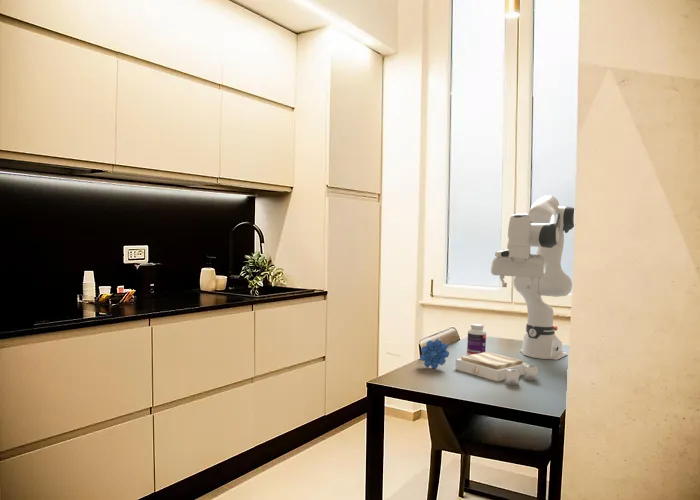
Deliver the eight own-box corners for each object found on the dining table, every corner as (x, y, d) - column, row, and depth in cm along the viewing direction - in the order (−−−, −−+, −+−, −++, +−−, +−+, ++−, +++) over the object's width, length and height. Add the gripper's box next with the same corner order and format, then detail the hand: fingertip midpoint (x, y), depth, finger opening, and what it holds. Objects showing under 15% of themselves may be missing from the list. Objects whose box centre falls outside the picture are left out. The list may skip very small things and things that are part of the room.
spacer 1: (509, 381, 193) (510, 368, 193) (521, 384, 189) (522, 371, 189) (502, 383, 190) (502, 369, 190) (513, 386, 186) (514, 373, 186)
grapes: (449, 367, 210) (451, 338, 210) (447, 371, 204) (448, 341, 204) (421, 364, 214) (423, 335, 214) (418, 367, 208) (419, 338, 207)
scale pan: (487, 354, 218) (487, 351, 218) (522, 363, 205) (522, 360, 205) (461, 359, 208) (461, 356, 208) (496, 369, 194) (496, 366, 194)
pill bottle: (485, 359, 227) (487, 326, 227) (467, 357, 229) (468, 325, 228) (484, 355, 235) (486, 323, 235) (466, 353, 237) (468, 322, 236)
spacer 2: (528, 376, 201) (528, 364, 200) (539, 380, 197) (540, 366, 197) (520, 378, 198) (521, 365, 197) (532, 381, 194) (533, 368, 193)
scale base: (486, 362, 220) (486, 353, 220) (527, 373, 205) (528, 363, 205) (454, 369, 208) (455, 359, 208) (496, 381, 192) (496, 371, 192)
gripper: (542, 254, 209) (540, 288, 209) (491, 252, 211) (489, 285, 211) (547, 255, 203) (545, 290, 203) (494, 252, 205) (492, 286, 205)
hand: (516, 287), depth 207 cm, fingers open, 8 cm apart
